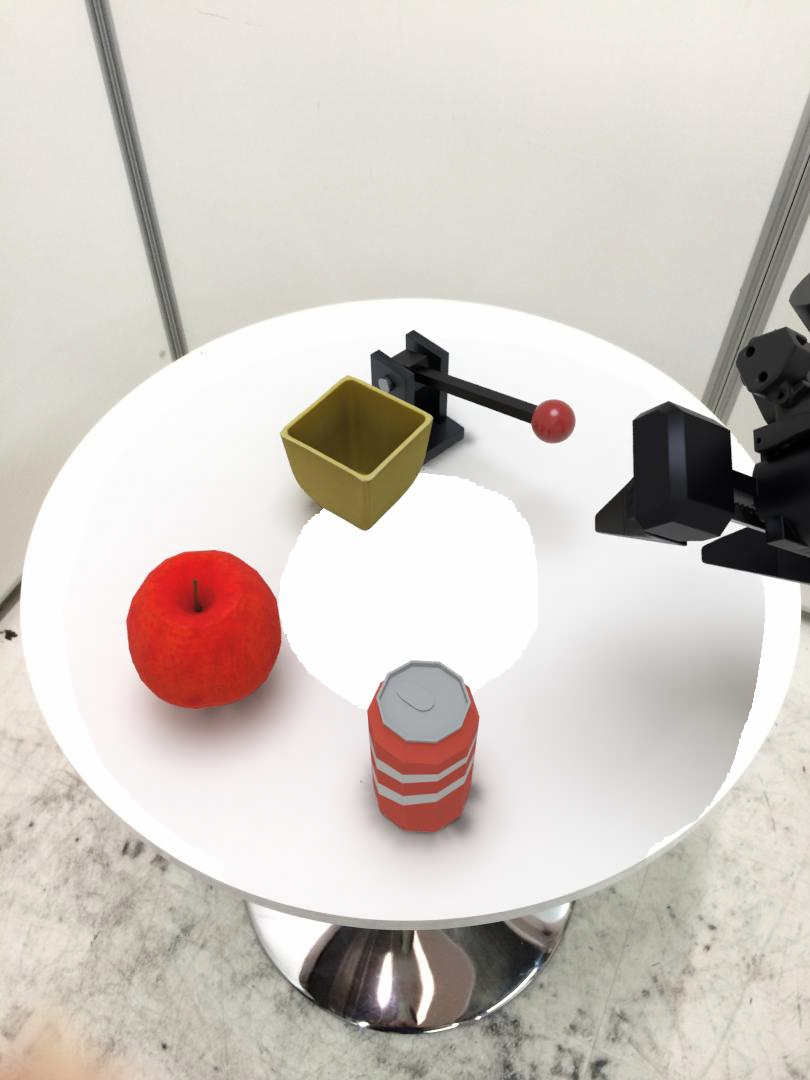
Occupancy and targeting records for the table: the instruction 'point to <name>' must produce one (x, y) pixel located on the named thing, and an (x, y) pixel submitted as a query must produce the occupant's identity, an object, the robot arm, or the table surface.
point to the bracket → (419, 390)
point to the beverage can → (422, 745)
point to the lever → (494, 399)
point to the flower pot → (357, 450)
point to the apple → (203, 629)
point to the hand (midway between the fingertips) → (652, 540)
